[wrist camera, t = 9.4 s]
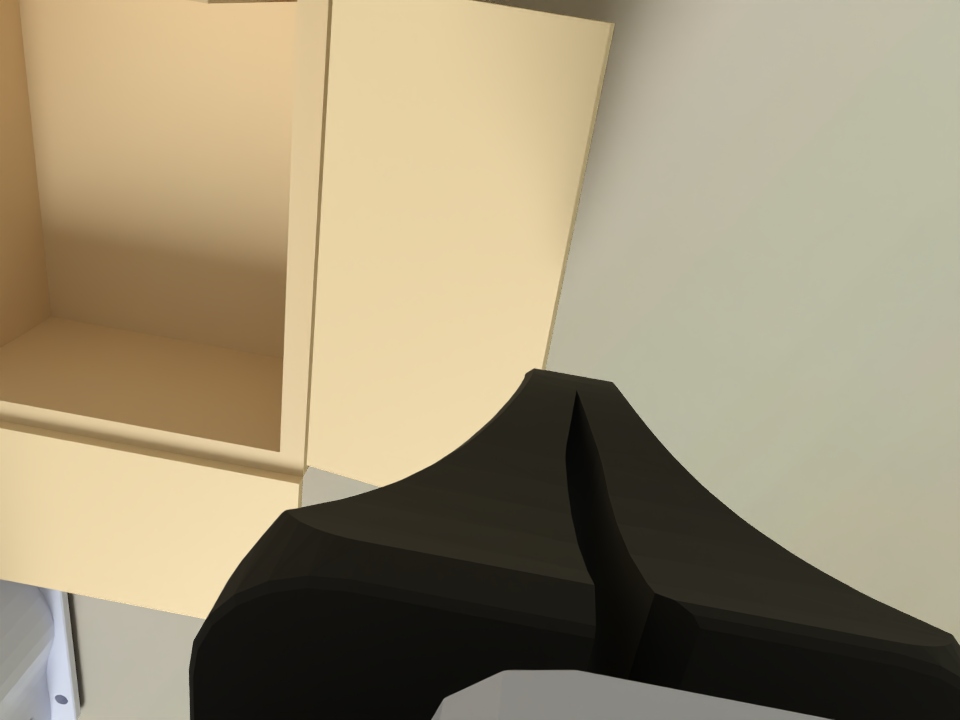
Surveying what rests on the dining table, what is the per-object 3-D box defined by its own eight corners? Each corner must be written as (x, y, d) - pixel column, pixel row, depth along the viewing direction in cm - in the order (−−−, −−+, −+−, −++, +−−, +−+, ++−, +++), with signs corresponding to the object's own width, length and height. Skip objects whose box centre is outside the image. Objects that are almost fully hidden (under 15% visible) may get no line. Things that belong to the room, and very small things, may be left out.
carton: (345, 514, 26) (257, 712, 19) (-84, 433, 27) (-329, 595, 19) (415, -320, 17) (292, -561, 9) (-253, -416, 17) (-851, -714, 10)
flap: (306, 465, 18) (318, 452, 19) (510, 525, 17) (517, 510, 18) (334, -23, 14) (348, -21, 14) (610, 23, 13) (615, 23, 13)
